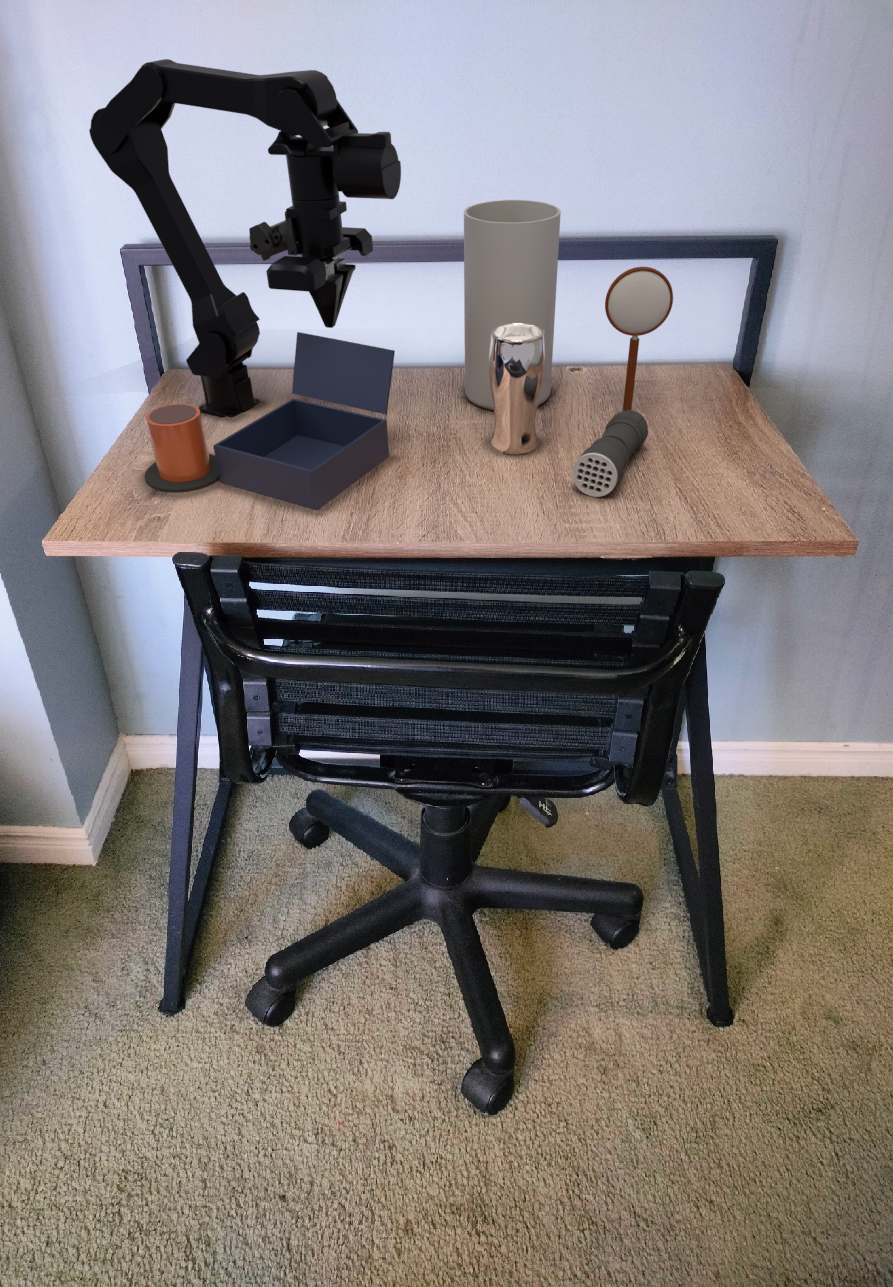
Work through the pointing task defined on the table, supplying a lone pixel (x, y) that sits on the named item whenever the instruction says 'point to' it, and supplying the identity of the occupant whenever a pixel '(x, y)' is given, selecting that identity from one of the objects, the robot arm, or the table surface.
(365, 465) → the carton
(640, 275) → the magnifying glass
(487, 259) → the cylinder vase
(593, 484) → the flashlight
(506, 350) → the beer glass
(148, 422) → the cup
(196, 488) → the disc
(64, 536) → the table surface
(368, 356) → the flap
